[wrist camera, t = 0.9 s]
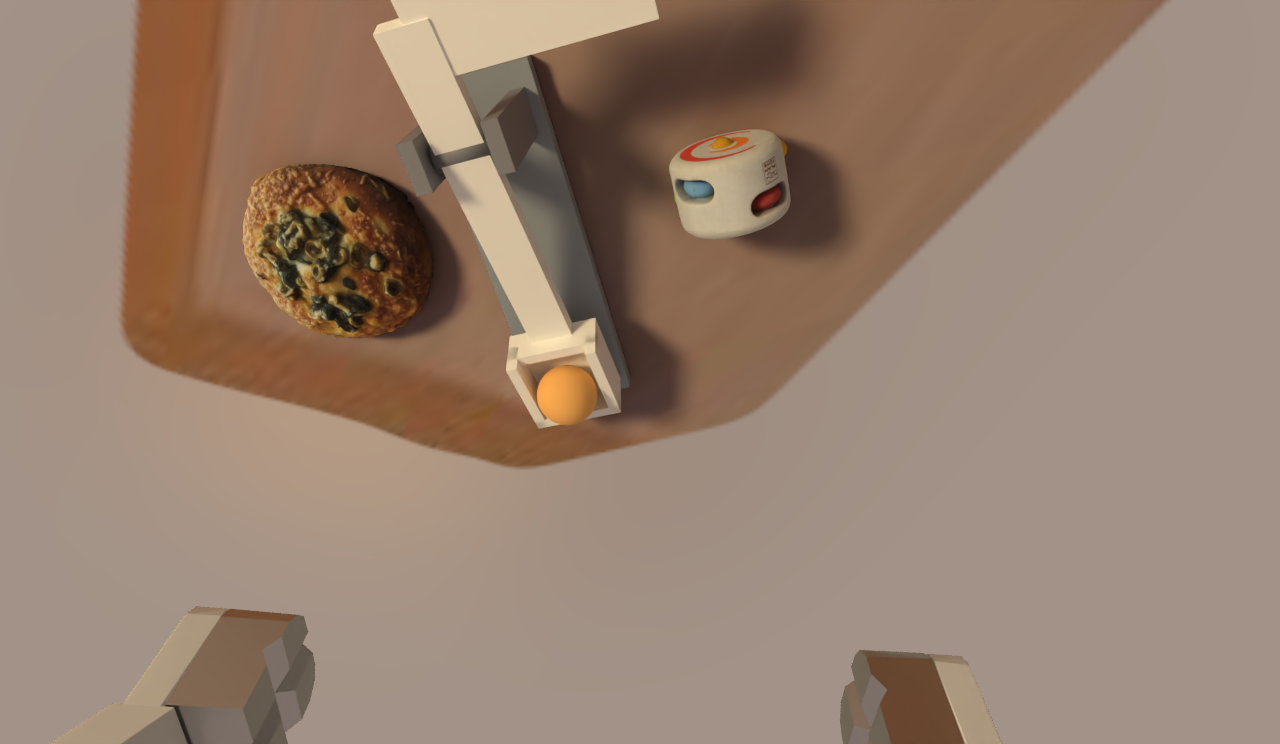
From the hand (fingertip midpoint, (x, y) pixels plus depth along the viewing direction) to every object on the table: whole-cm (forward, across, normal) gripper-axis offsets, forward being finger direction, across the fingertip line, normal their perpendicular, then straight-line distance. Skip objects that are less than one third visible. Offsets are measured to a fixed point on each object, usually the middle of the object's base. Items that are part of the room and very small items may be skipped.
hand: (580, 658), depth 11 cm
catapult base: (+34, +5, +7) cm, 35 cm away
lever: (+30, +3, +3) cm, 30 cm away
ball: (+30, +3, +14) cm, 33 cm away
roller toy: (+34, -5, +2) cm, 35 cm away
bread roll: (+35, +17, +8) cm, 40 cm away
